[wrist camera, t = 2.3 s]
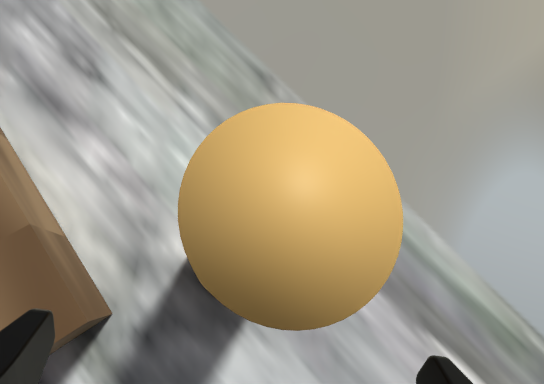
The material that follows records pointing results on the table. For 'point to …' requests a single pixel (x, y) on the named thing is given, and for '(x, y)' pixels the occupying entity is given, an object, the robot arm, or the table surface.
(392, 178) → the ochre pin
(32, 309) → the robot arm
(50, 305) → the walnut hole block
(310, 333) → the table surface
